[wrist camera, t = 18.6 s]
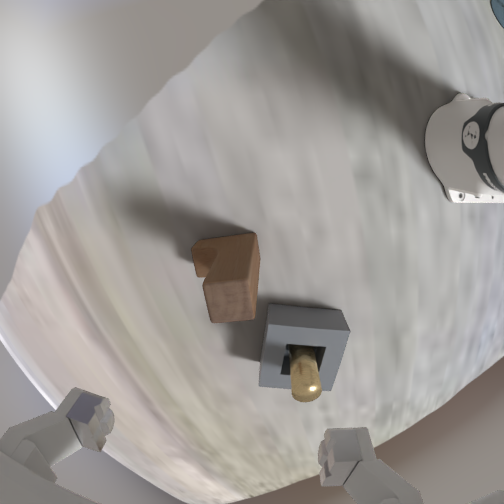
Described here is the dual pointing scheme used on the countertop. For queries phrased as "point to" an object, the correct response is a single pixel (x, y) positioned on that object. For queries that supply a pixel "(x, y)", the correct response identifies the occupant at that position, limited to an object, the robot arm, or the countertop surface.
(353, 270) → the countertop surface
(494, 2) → the cocktail glass
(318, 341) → the hole holder
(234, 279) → the wooden block
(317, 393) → the brass pin
